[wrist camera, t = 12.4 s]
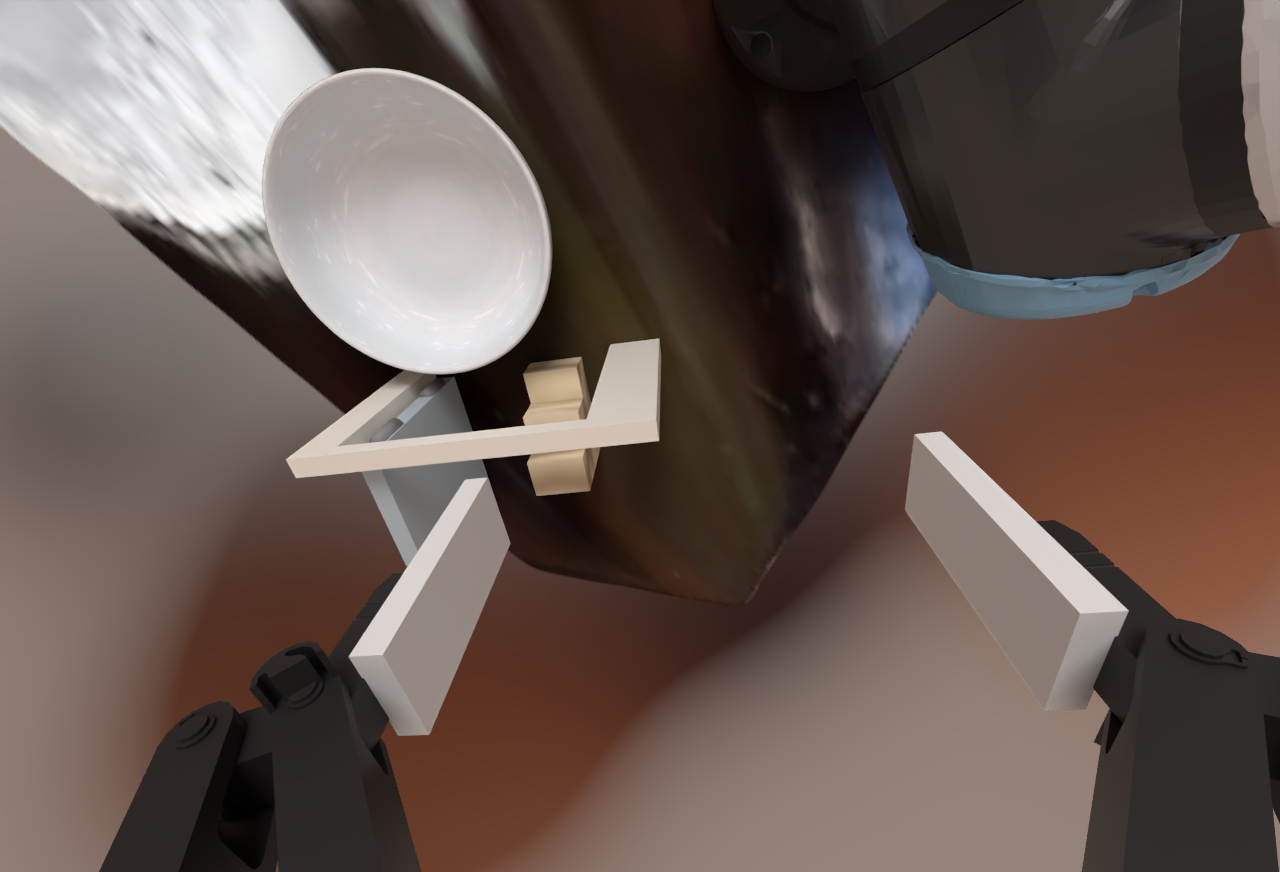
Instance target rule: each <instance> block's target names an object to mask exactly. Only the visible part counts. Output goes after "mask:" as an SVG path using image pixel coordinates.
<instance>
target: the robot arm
mask: <svg viewBox="0 0 1280 872" xmlns="http://www.w3.org/2000/svg"><path fill="white" fill-rule="evenodd" d="M712 1H713V6H714V10H715V14H716V17H717V20H718V23H719V26H720V28H721V31H722V33H723V35H724V37H725V39H726V41H727V43H728V45H729V46H730V48H731V50H732V51H733V53H734V54H735V55H736V57H737V58H738V59H739V60H740V62H741V63H742V64H743V65H744V66H745V67H746V68H747V69H748V70H749V71H750V72H752V73H753V74H754V75H755V76H757V77H758V78H760V79H761V80H763V81H765V82H766V83H768V84H770V85H773V86H775V87H778V88H781V89H784V90H789V91H795V92H816V91H822V90H827V89H831V88H834V87H837V86H840V85H842V84H845V83H847V82H849V81H851V80H853V79H855V78H856V79H857V82H858V85H859V87H860V91H861V92H860V93H861V96H862V99H863V101H864V104H865V107H866V109H867V112H868V115H869V118H870V120H871V123H872V126H873V128H874V131H875V134H876V137H877V139H878V142H879V145H880V147H881V150H882V153H883V156H884V158H885V161H886V164H887V166H888V169H889V172H890V175H891V177H892V180H893V183H894V185H895V188H896V191H897V194H898V196H899V199H900V202H901V204H902V207H903V210H904V213H905V215H906V218H907V221H908V225H907V233H908V236H909V239H910V242H911V244H912V246H913V247H914V248H915V250H917V252H918V253H919V254H920V256H921V257H922V259H923V261H924V264H925V266H926V268H927V271H928V273H929V275H930V278H931V280H932V282H933V284H934V286H935V287H936V289H937V290H938V291H939V292H940V293H941V294H943V295H944V296H945V297H946V298H947V299H948V300H949V301H950V302H952V303H954V304H955V305H957V306H958V307H960V308H963V309H966V310H968V311H971V312H974V313H977V314H981V315H986V316H991V317H998V318H1007V319H1052V318H1062V317H1071V316H1079V315H1085V314H1091V313H1096V312H1101V311H1106V310H1110V309H1114V308H1118V307H1122V306H1125V305H1127V304H1128V303H1129V302H1130V301H1131V298H1132V296H1134V295H1156V296H1157V295H1160V294H1162V293H1165V292H1167V291H1170V290H1172V289H1175V288H1177V287H1179V286H1181V285H1183V284H1186V283H1187V282H1189V281H1191V280H1193V279H1195V278H1196V277H1198V276H1200V275H1201V274H1203V273H1204V272H1205V271H1207V270H1208V269H1209V268H1211V267H1212V266H1214V265H1215V264H1216V263H1218V262H1219V261H1220V260H1221V259H1222V258H1223V257H1224V256H1225V255H1226V254H1227V252H1228V251H1229V250H1230V248H1231V246H1232V245H1233V243H1234V241H1235V240H1236V239H1237V238H1238V236H1239V235H1240V234H1241V233H1246V232H1251V231H1257V230H1262V229H1267V228H1273V227H1279V226H1280V0H712ZM905 511H906V512H907V514H908V515H909V517H910V518H911V520H912V521H913V522H914V524H915V525H916V527H917V528H918V530H919V531H920V533H921V534H922V536H923V537H924V538H925V540H926V541H927V543H928V544H929V546H930V547H931V549H932V550H933V551H934V553H935V554H936V556H937V557H938V559H939V560H940V561H941V563H942V564H943V566H944V567H945V569H946V570H947V572H948V573H949V575H950V576H951V577H952V579H953V580H954V582H955V583H956V585H957V586H958V587H959V589H960V590H961V592H962V593H963V595H964V596H965V597H966V599H967V601H968V602H969V603H970V605H971V606H972V608H973V609H974V611H975V612H976V614H977V615H978V616H979V618H980V619H981V621H982V622H983V624H984V625H985V627H986V628H987V629H988V631H989V632H990V634H991V635H992V637H993V638H994V639H995V641H996V642H997V644H998V645H999V647H1000V648H1001V650H1002V651H1003V653H1004V654H1005V655H1006V657H1007V658H1008V660H1009V661H1010V663H1011V664H1012V666H1013V667H1014V668H1015V670H1016V671H1017V673H1018V674H1019V676H1020V677H1021V678H1022V680H1023V681H1024V683H1025V684H1026V686H1027V687H1028V689H1029V690H1030V692H1031V693H1032V694H1033V696H1034V697H1035V699H1036V700H1037V702H1038V703H1039V704H1040V706H1041V707H1042V709H1043V710H1044V711H1054V710H1079V709H1080V710H1081V709H1086V707H1087V705H1088V703H1089V700H1090V698H1091V696H1092V694H1093V691H1094V690H1095V691H1096V692H1097V693H1098V694H1099V696H1100V697H1101V698H1102V699H1103V701H1104V702H1105V703H1106V704H1107V705H1108V707H1109V708H1110V709H1109V711H1108V713H1107V715H1106V717H1105V720H1104V722H1103V724H1102V726H1101V728H1100V730H1099V732H1098V734H1097V736H1096V739H1095V741H1094V742H1095V743H1097V744H1099V745H1101V749H1100V755H1099V762H1098V768H1097V775H1096V782H1095V788H1094V795H1093V801H1092V808H1091V814H1090V821H1089V828H1088V834H1087V841H1086V848H1085V855H1084V861H1083V868H1082V872H1279V868H1278V860H1277V859H1278V858H1277V848H1276V838H1275V828H1274V817H1273V809H1274V812H1275V814H1276V816H1277V818H1278V820H1279V823H1280V657H1273V656H1268V655H1261V654H1256V653H1251V652H1248V651H1247V650H1246V649H1245V648H1243V646H1242V645H1240V644H1239V643H1238V642H1236V641H1234V640H1233V639H1231V638H1230V637H1228V636H1226V635H1225V634H1223V633H1221V632H1219V631H1217V630H1214V629H1212V628H1209V627H1207V626H1205V625H1202V624H1199V623H1195V622H1191V621H1187V620H1183V619H1176V618H1175V617H1174V616H1172V615H1171V614H1170V613H1169V612H1168V611H1167V610H1166V609H1164V608H1163V607H1162V606H1161V605H1160V604H1159V603H1158V602H1156V601H1155V600H1154V599H1153V598H1152V597H1151V596H1150V595H1149V594H1148V593H1146V592H1145V591H1144V590H1143V589H1142V588H1141V587H1140V586H1139V585H1137V584H1136V583H1135V582H1134V581H1133V580H1132V579H1131V578H1130V577H1128V576H1127V575H1126V574H1125V573H1124V572H1123V571H1122V570H1120V569H1119V568H1118V567H1115V566H1114V563H1113V562H1111V561H1110V560H1109V559H1108V558H1107V557H1106V556H1105V555H1104V554H1102V553H1099V551H1098V549H1097V548H1096V547H1095V546H1093V545H1092V544H1091V543H1090V542H1089V541H1088V540H1087V539H1085V538H1084V537H1083V536H1082V535H1081V534H1080V533H1078V532H1076V531H1074V530H1072V529H1070V528H1068V527H1067V526H1065V525H1063V524H1061V523H1059V522H1057V521H1055V520H1050V521H1037V522H1036V521H1035V520H1034V519H1033V518H1031V517H1030V515H1028V514H1027V513H1026V512H1025V511H1024V510H1023V509H1022V508H1021V507H1020V506H1019V505H1018V504H1017V503H1016V502H1015V501H1014V500H1013V499H1012V498H1011V497H1010V496H1008V494H1007V493H1006V492H1005V491H1003V490H1002V489H1001V488H1000V487H999V486H998V485H997V484H996V483H995V482H994V481H993V480H992V479H991V478H990V477H989V476H988V475H987V474H985V472H984V471H983V470H982V469H981V468H979V467H978V466H977V465H976V464H975V463H974V462H973V461H972V460H971V459H970V458H969V457H968V456H967V455H966V454H965V453H964V452H963V451H962V450H961V449H960V448H959V447H958V446H957V445H956V444H955V443H953V442H952V441H951V440H950V439H949V438H948V437H947V436H946V435H945V434H944V433H943V432H932V433H922V434H915V435H914V442H913V449H912V457H911V465H910V473H909V481H908V489H907V497H906V505H905ZM509 546H510V541H509V538H508V535H507V532H506V529H505V526H504V523H503V521H502V518H501V515H500V512H499V509H498V506H497V503H496V501H495V498H494V495H493V492H492V489H491V486H490V483H489V480H488V478H477V479H467V480H465V481H464V482H463V484H462V485H461V487H460V488H459V490H458V491H457V493H456V494H455V496H454V497H453V499H452V500H451V502H450V503H449V505H448V506H447V508H446V509H445V511H444V512H443V514H442V515H441V517H440V519H439V520H438V522H437V523H436V525H435V526H434V528H433V529H432V531H431V532H430V534H429V535H428V537H427V538H426V540H425V541H424V543H423V544H422V546H421V547H420V549H419V550H418V552H417V553H416V555H415V556H414V558H413V560H412V561H411V563H410V564H409V566H408V567H407V569H406V570H405V572H404V573H399V574H392V575H391V576H390V577H389V578H388V579H386V580H385V581H384V582H383V583H382V584H381V585H380V586H379V587H377V588H376V589H375V591H374V592H373V594H372V595H371V597H370V598H369V600H368V601H367V602H366V604H365V607H363V608H362V609H361V611H360V612H359V614H358V616H357V617H356V621H353V623H352V624H351V625H350V627H349V628H348V630H347V631H346V632H345V634H344V635H343V637H342V638H341V640H340V641H339V642H338V644H337V645H336V647H335V648H334V650H333V651H332V652H331V654H330V655H329V657H327V656H326V654H325V653H324V651H323V650H322V648H321V647H320V645H319V644H318V643H314V642H303V643H298V644H295V645H293V646H290V647H288V648H286V649H284V650H282V651H281V652H279V653H278V654H276V655H274V656H273V657H271V658H270V659H269V660H268V661H267V662H266V663H265V664H264V665H263V666H262V667H260V669H259V670H258V672H257V673H256V674H255V676H254V677H253V679H252V681H251V685H250V690H251V691H252V693H253V694H254V695H255V697H256V698H257V699H258V700H259V701H260V703H261V704H262V705H263V706H261V707H258V708H255V709H252V710H249V711H246V712H243V713H240V714H239V713H238V712H237V711H236V710H235V708H234V707H233V706H232V705H231V704H230V703H229V702H222V701H219V702H215V703H211V704H208V705H205V706H203V707H201V708H199V709H197V710H196V711H193V712H192V713H190V714H189V715H188V716H186V717H185V718H184V719H182V720H181V721H179V722H178V723H177V724H176V725H175V726H174V727H173V728H172V729H171V730H170V731H169V732H168V733H167V734H166V735H165V737H164V738H163V740H162V741H161V743H160V744H159V746H158V747H157V749H156V752H155V754H154V756H153V758H152V760H151V762H150V765H149V766H148V769H147V771H146V773H145V775H144V777H143V779H142V781H141V783H140V786H139V788H138V790H137V792H136V794H135V796H134V798H133V801H132V803H131V805H130V807H129V809H128V811H127V813H126V815H125V818H124V820H123V822H122V824H121V826H120V828H119V830H118V833H117V835H116V837H115V839H114V841H113V843H112V846H111V848H110V850H109V852H108V854H107V856H106V858H105V860H104V862H103V864H102V867H101V869H100V871H99V872H275V871H276V865H277V861H278V868H279V872H421V869H420V865H419V862H418V858H417V855H416V851H415V848H414V844H413V841H412V837H411V834H410V830H409V826H408V823H407V819H406V816H405V812H404V809H403V805H402V802H401V798H400V794H399V791H398V788H397V784H396V780H395V777H394V773H393V770H392V766H391V763H390V759H389V756H388V752H387V748H386V745H385V743H384V742H383V740H382V739H381V735H382V733H383V731H384V729H385V727H386V725H387V723H388V721H389V722H390V723H391V725H392V726H393V728H394V729H395V731H396V733H397V734H398V736H404V735H429V733H430V731H431V729H432V727H433V724H434V722H435V720H436V717H437V715H438V713H439V710H440V708H441V705H442V703H443V701H444V699H445V696H446V694H447V692H448V689H449V687H450V684H451V682H452V680H453V677H454V675H455V673H456V670H457V668H458V666H459V663H460V661H461V659H462V656H463V654H464V651H465V649H466V647H467V644H468V642H469V640H470V637H471V635H472V633H473V630H474V628H475V626H476V623H477V621H478V619H479V616H480V614H481V611H482V609H483V606H484V604H485V602H486V600H487V597H488V595H489V593H490V590H491V588H492V585H493V583H494V581H495V578H496V576H497V574H498V571H499V569H500V567H501V564H502V562H503V560H504V557H505V555H506V553H507V550H508V548H509Z"/></svg>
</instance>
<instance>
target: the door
mask: <svg viewBox="0 0 1280 872" xmlns="http://www.w3.org/2000/svg"><path fill="white" fill-rule="evenodd" d="M465 432H473V431H472V428H471V425H470V422H469V419H468V416H467V413H466V410H465V407H464V404H463V401H462V398H461V395H460V392H459V389H458V387H457V384H456V381H455V378H454V377H447V378H436V379H435V380H434V381H433V382H431V383H430V384H429V385H428V386H427V387H426V388H425V389H424V390H423V391H421V392H420V397H419V398H418V399H416V400H415V401H414V402H413V403H412V404H411V405H410V406H409V407H408V408H407V409H405V410H404V411H403V412H402V413H401V414H400V415H399V416H398V417H397V418H392V419H390V420H389V421H388V422H387V423H386V424H385V425H384V426H382V427H381V428H380V429H379V430H378V431H377V432H376V433H375V434H374V435H372V436H371V437H370V439H369V443H373V442H382V441H391V440H400V439H409V438H419V437H428V436H437V435H446V434H455V433H465ZM361 472H362V474H363V476H364V478H365V480H366V482H367V484H368V486H369V488H370V491H371V492H372V495H373V497H374V499H375V501H376V503H377V505H378V507H379V510H380V512H381V514H382V516H383V518H384V520H385V522H386V524H387V526H388V528H389V531H390V533H391V535H392V537H393V539H394V541H395V543H396V545H397V547H398V549H399V551H400V554H401V556H402V558H403V560H404V562H405V564H406V566H407V567H408V566H409V564H410V563H411V561H412V560H413V558H414V556H415V555H416V553H417V552H418V550H419V549H420V547H421V546H422V544H423V543H424V541H425V540H426V538H427V537H428V535H429V534H430V532H431V531H432V529H433V528H434V526H435V525H436V523H437V522H438V520H439V519H440V517H441V515H442V514H443V512H444V511H445V509H446V508H447V506H448V505H449V503H450V502H451V500H452V499H453V497H454V496H455V494H456V493H457V491H458V490H459V488H460V487H461V485H462V484H463V482H464V481H465V480H467V479H477V478H488V475H487V472H486V469H485V466H484V463H483V461H482V459H478V460H468V461H458V462H448V463H439V464H429V465H419V466H409V467H400V468H390V469H380V470H370V471H361ZM488 480H489V478H488ZM489 483H490V481H489ZM490 486H491V484H490ZM491 489H492V487H491ZM492 492H493V490H492ZM493 495H494V493H493ZM494 498H495V496H494ZM495 501H496V499H495ZM496 503H497V502H496ZM497 506H498V505H497Z"/></svg>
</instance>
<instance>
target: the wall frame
mask: <svg viewBox="0 0 1280 872" xmlns="http://www.w3.org/2000/svg"><path fill="white" fill-rule="evenodd" d="M435 379H436V375H435V374H424V373H417V372H412V371H407V370H403V371H402V372H401V373H400V374H398V375H397V376H396V377H394V378H393V379H392V380H390V381H389V382H388V383H386V384H385V385H384V386H382V387H381V388H380V389H378V390H377V391H376V392H374V393H373V394H372V395H370V396H369V397H368V398H366V399H365V400H364V401H363V402H361V403H360V404H359V405H357V406H356V407H355V408H353V409H352V410H351V411H349V412H348V413H347V414H345V415H344V416H343V417H342V418H340V419H339V420H337V421H336V422H335V423H334V424H332V425H331V426H330V427H328V428H327V429H326V430H324V431H323V432H322V433H320V434H319V435H318V436H316V437H315V438H314V439H312V440H311V441H310V442H308V443H307V444H306V445H305V446H303V447H302V448H300V449H299V450H298V451H296V452H295V453H294V454H293V455H291V456H290V457H289V458H287V459H286V461H287V462H288V464H289V466H290V468H291V470H292V472H293V473H294V475H295V477H296V478H301V477H311V476H321V475H331V474H340V473H351V472H360V471H370V470H380V469H390V468H400V467H409V466H419V465H429V464H439V463H448V462H458V461H468V460H478V459H487V458H497V457H507V456H517V455H527V454H536V453H546V452H556V451H566V450H575V449H585V448H595V447H605V446H614V445H624V444H634V443H644V442H653V441H659V424H660V384H661V348H660V340H659V339H651V340H643V341H635V342H627V343H619V344H611V345H610V347H609V350H608V354H607V357H606V360H605V363H604V366H603V369H602V372H601V375H600V379H599V382H598V385H597V388H596V391H595V394H594V397H593V400H592V403H591V407H590V410H589V413H588V416H587V419H584V420H575V421H566V422H556V423H547V424H538V425H529V426H520V427H510V428H501V429H492V430H483V431H474V432H465V433H455V434H446V435H437V436H428V437H419V438H409V439H400V440H391V441H382V442H373V443H369V439H370V437H371V436H372V435H374V434H375V433H376V432H377V431H378V430H379V429H380V428H381V427H382V426H384V425H385V424H386V423H387V422H388V421H389V420H390V419H392V418H397V417H398V416H399V415H400V414H401V413H402V412H403V411H404V410H405V409H407V408H408V407H409V406H410V405H411V404H412V403H413V402H414V401H415V400H416V399H418V398H419V397H420V392H421V391H423V390H424V389H425V388H426V387H427V386H428V385H429V384H430V383H431V382H433V381H434V380H435Z"/></svg>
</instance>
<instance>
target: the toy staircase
mask: <svg viewBox="0 0 1280 872" xmlns="http://www.w3.org/2000/svg"><path fill="white" fill-rule="evenodd" d="M523 376H524V380H525V384H526V387H527V391H528V395H529V398H530V402H531V405H530V406H529V408H528V410H527V412H526V413H525V415H524V417H523V420H524V424H525V426H529V425H538V424H547V423H556V422H566V421H575V420H584V419H587V416H588V413H589V410H590V407H591V401H590V396H589V391H588V386H587V381H586V377H585V372H584V367H583V362H582V357H575V358H567V359H559V360H551V361H543V362H535V363H530V365H529V366H528V367H527V369H526V370H525V372H524V373H523ZM599 451H600V447H595V448H585V449H575V450H566V451H556V452H546V453H536V454H531V456H530V458H529V460H528V462H527V465H528V468H529V472H530V475H531V478H532V482H533V485H534V489H535V492H536V496H541V495H552V494H562V493H573V492H583V491H590V489H591V485H592V481H593V477H594V472H595V468H596V464H597V460H598V455H599Z"/></svg>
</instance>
